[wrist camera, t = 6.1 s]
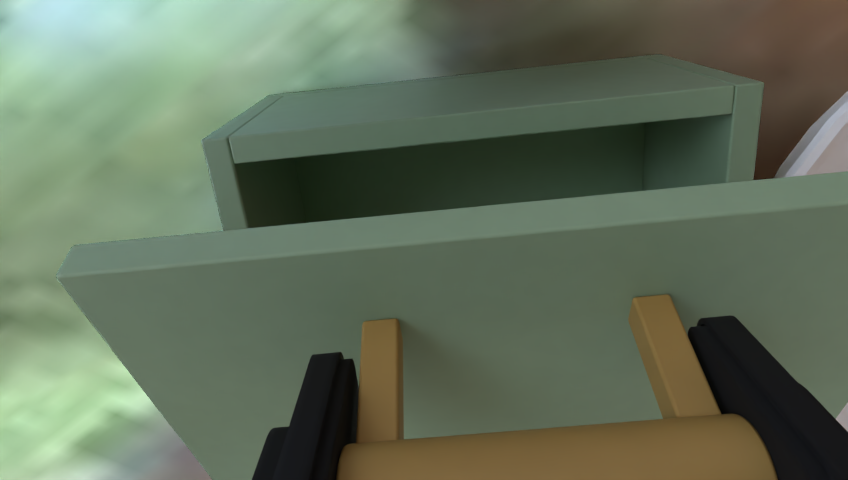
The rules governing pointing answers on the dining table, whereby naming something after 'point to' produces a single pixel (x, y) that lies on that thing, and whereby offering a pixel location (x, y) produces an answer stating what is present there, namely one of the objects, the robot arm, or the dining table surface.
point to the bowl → (822, 159)
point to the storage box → (484, 140)
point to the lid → (488, 329)
